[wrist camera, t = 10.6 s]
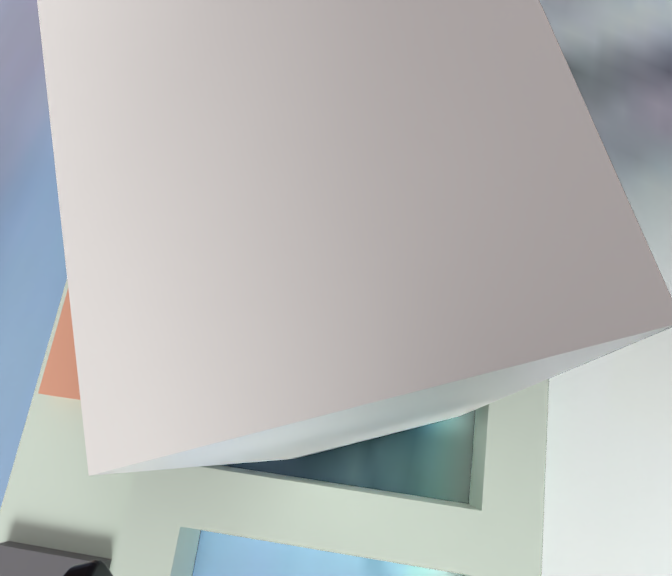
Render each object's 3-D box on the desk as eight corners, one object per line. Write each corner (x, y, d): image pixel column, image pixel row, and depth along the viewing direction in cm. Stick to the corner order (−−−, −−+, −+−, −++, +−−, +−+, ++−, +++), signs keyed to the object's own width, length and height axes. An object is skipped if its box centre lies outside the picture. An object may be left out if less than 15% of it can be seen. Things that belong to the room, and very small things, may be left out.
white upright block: (459, 416, 17) (683, 323, 5) (295, 458, 16) (88, 475, 5) (412, 262, 18) (487, -115, 6) (261, 301, 18) (36, -2, 6)
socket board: (499, 996, 13) (521, 1093, 11) (-76, 856, 14) (-146, 918, 12) (536, 218, 18) (556, 190, 16) (114, 174, 20) (86, 144, 18)
